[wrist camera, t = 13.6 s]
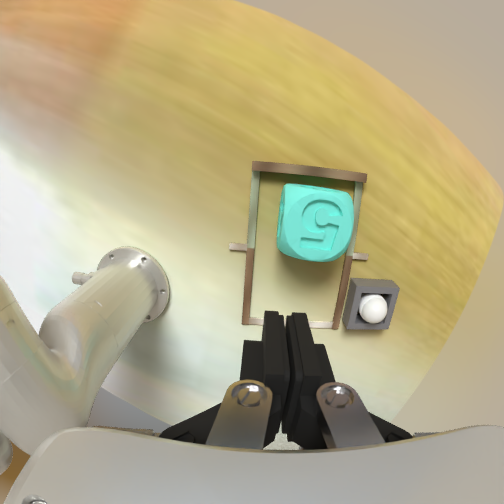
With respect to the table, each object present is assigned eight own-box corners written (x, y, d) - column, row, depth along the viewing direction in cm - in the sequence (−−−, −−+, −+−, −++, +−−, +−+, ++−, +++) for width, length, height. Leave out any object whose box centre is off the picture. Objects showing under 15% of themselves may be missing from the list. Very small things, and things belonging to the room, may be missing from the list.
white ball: (353, 314, 43) (361, 329, 38) (359, 289, 41) (368, 302, 37) (378, 314, 42) (387, 329, 38) (384, 290, 41) (395, 303, 37)
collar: (342, 319, 44) (346, 329, 41) (350, 277, 42) (356, 285, 39) (381, 319, 44) (388, 329, 41) (391, 280, 42) (399, 287, 39)
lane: (226, 320, 44) (225, 327, 43) (234, 160, 37) (233, 159, 36) (351, 327, 44) (354, 333, 42) (378, 175, 37) (383, 176, 36)
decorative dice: (275, 240, 41) (278, 258, 33) (282, 181, 38) (287, 186, 31) (331, 246, 40) (346, 265, 33) (340, 189, 38) (358, 196, 31)
